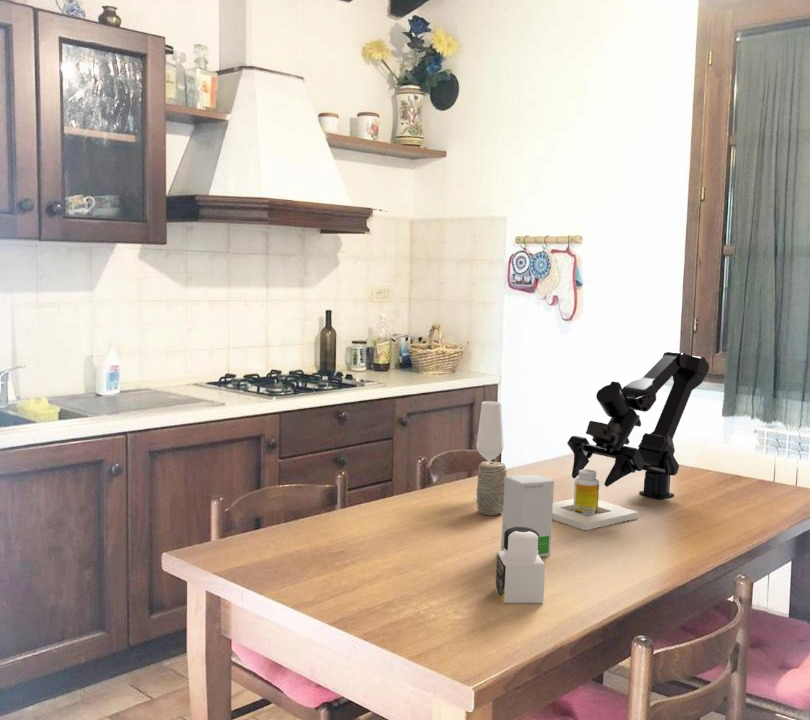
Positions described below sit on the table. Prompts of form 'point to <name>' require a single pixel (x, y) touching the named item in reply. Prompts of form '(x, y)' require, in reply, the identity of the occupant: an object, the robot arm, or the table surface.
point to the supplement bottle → (586, 493)
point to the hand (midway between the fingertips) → (589, 481)
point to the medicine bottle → (520, 567)
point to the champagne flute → (490, 431)
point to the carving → (491, 487)
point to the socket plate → (603, 518)
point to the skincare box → (529, 507)
